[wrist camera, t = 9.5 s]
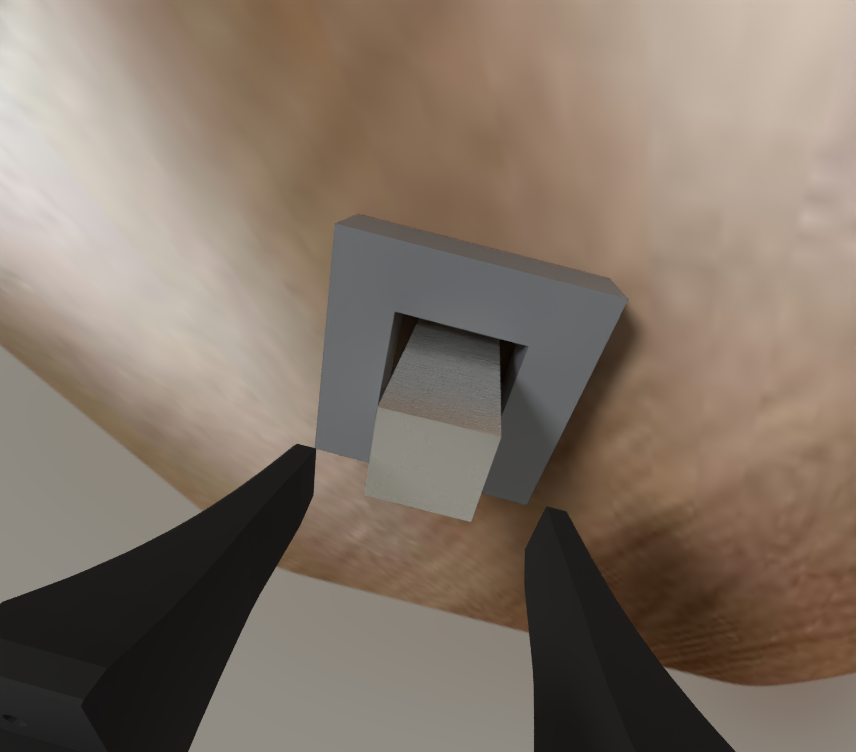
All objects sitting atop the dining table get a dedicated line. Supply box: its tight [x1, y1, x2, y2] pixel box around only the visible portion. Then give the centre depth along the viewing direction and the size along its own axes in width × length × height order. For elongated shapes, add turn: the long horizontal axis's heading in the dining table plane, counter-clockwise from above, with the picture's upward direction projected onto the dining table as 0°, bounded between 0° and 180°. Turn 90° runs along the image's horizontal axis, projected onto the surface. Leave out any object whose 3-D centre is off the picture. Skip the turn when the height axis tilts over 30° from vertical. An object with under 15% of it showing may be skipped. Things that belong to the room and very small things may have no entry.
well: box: [315, 214, 628, 505], centre depth 20 cm, size 12×12×3 cm
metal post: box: [365, 318, 501, 522], centre depth 17 cm, size 4×4×9 cm
